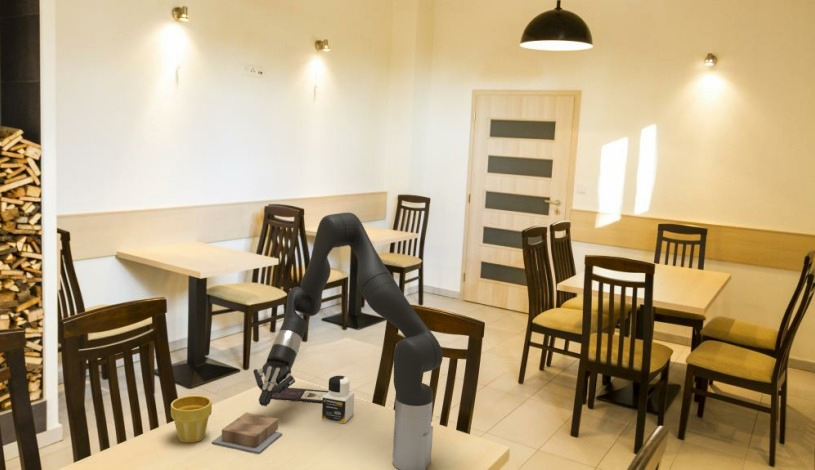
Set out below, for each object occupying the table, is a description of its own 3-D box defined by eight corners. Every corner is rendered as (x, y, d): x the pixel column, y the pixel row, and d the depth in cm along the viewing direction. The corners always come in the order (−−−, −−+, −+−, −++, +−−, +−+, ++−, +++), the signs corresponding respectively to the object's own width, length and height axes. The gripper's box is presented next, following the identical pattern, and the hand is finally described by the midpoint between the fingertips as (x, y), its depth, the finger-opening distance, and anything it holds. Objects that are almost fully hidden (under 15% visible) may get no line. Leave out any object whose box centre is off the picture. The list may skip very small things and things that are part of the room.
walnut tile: (278, 418, 184) (255, 436, 173) (278, 429, 185) (255, 448, 173) (246, 412, 187) (221, 429, 176) (245, 423, 188) (221, 440, 176)
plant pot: (162, 437, 178) (162, 401, 177) (197, 425, 186) (197, 391, 185) (184, 450, 172) (184, 413, 170) (219, 437, 179) (219, 402, 178)
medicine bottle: (321, 419, 194) (322, 380, 192) (331, 410, 201) (332, 372, 199) (344, 424, 192) (346, 384, 190) (353, 414, 199) (355, 375, 197)
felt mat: (282, 435, 183) (282, 432, 183) (259, 454, 172) (259, 451, 171) (236, 425, 187) (236, 423, 187) (211, 443, 176) (211, 441, 176)
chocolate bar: (279, 386, 215) (334, 391, 214) (279, 389, 216) (334, 394, 214) (271, 397, 207) (328, 402, 205) (271, 400, 207) (328, 405, 205)
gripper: (260, 339, 195) (236, 395, 185) (301, 346, 191) (279, 403, 181) (268, 352, 200) (246, 406, 191) (309, 358, 197) (288, 414, 187)
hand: (262, 404), depth 186 cm, fingers closed
